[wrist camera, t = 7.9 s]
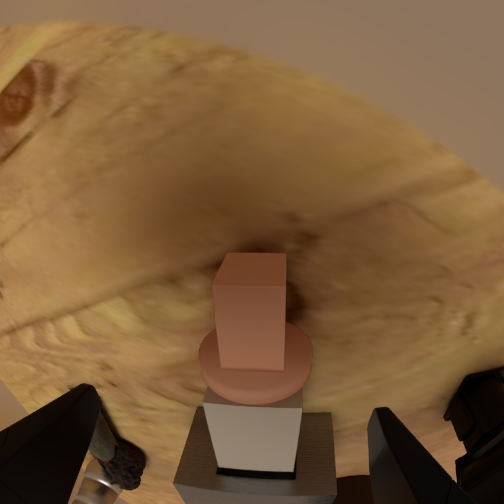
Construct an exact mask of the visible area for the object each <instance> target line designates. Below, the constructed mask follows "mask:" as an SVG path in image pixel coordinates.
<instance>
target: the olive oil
mask: <svg viewBox="0 0 504 504" xmlns="http://www.w3.org/2000/svg"><path fill="white" fill-rule="evenodd" d="M336 483H337V496H336V497H335V499H334V501H333V503H332V504H374V498H373V491H372V485H371V478H370V476H352V477H345V478H340V479H336Z"/></svg>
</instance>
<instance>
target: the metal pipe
mask: <svg viewBox="0 0 504 504" xmlns="http://www.w3.org/2000/svg"><path fill="white" fill-rule="evenodd" d="M88 450H89V451H90V453H91V454H92V455H93V456H94V457H95V458H96V459H97V461H98V463H99V465H100V466H101V468H102V471H103V473H104V477H106V478H108V479H110V484H111V485H113V484H118V485H119V488H120V489H125V490H134V489H136V488H138V486H139V485H140V481H141V478H140V476H142V474H143V470H144V468H145V466H146V461H145V458H144V456H143V454H142V453H141V452H140V451H139V450H138V449H137V448H135V447H133V446H131V445H126V444H125V443H123V442H121V441H118V440H115V438H114V436H113V434H112V432H111V430H110V428H109V426H108V424H107V423H106V421H105V419H104V417H103V415H102V413H101V411H100V413H99V417H98V420H97V424H96V427H95V430H94V434H93V437H92V440H91V443H90V446H89V448H88Z"/></svg>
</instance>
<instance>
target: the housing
mask: <svg viewBox="0 0 504 504" xmlns="http://www.w3.org/2000/svg"><path fill="white" fill-rule="evenodd" d="M173 484H174V486H175V487H176V489H177V491H178V492H179V494H180V495H181V497H182V498H183V500H184V502H185V503H186V504H332V503H333V501H334V499H335V497H336V496H337V483H336V467H335V453H334V440H333V428H332V417H331V413H302V416H301V423H300V430H299V437H298V444H297V450H296V457H295V463H294V469H293V472H281V471H258V470H244V469H233V468H224V467H219V466H218V462H217V459H216V455H215V451H214V447H213V444H212V440H211V436H210V432H209V428H208V423H207V419H206V415H205V411H204V407H197V410H196V413H195V416H194V419H193V422H192V425H191V428H190V431H189V435H188V438H187V441H186V444H185V447H184V450H183V453H182V456H181V460H180V463H179V466H178V469H177V472H176V475H175V478H174V481H173Z"/></svg>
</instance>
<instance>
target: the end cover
mask: <svg viewBox="0 0 504 504" xmlns="http://www.w3.org/2000/svg"><path fill="white" fill-rule="evenodd" d="M211 286H212V295H213V304H214V313H215V322H216V329H214V330H213V331H211V332H210V333H209V334H208V335H207V336H206V337H205V338H204V340H203V341H202V343H201V345H200V348H199V360H200V365H201V371H202V375H203V378H204V380H205V382H206V384H207V385H208V387H207V390H206V393H205V396H204V400H203V406H204V411H205V415H206V419H207V423H208V428H209V432H210V436H211V440H212V444H213V447H214V451H215V455H216V459H217V462H218V466H219V467H224V468H233V469H244V470H258V471H281V472H293V469H294V463H295V457H296V450H297V444H298V437H299V430H300V423H301V416H302V387H303V385H304V384H305V383H306V381H307V380H308V378H309V376H310V372H311V366H312V358H313V347H312V343H311V341H310V339H309V338H308V336H307V335H306V334H305V333H304V332H303V331H302V330H300V329H299V328H297V327H296V326H294V325H292V324H290V323H287V322H285V312H286V253H227V254H226V256H225V258H224V260H223V262H222V264H221V266H220V268H219V270H218V272H217V274H216V276H215V279H214V281H213V283H212V285H211Z"/></svg>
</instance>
